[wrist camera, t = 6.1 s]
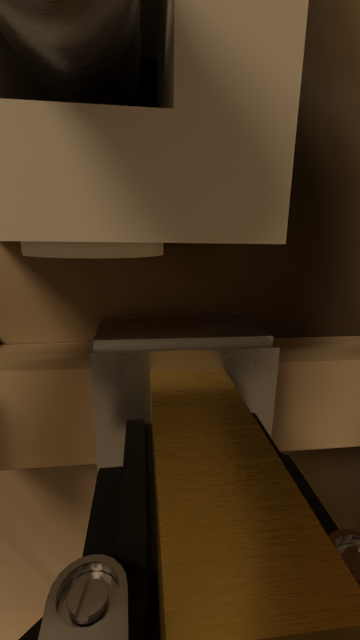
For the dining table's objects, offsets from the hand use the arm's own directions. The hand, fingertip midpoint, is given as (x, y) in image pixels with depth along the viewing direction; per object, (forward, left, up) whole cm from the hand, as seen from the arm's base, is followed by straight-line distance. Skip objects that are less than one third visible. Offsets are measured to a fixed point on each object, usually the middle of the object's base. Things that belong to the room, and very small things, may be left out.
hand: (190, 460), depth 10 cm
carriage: (0, 0, -6) cm, 6 cm away
